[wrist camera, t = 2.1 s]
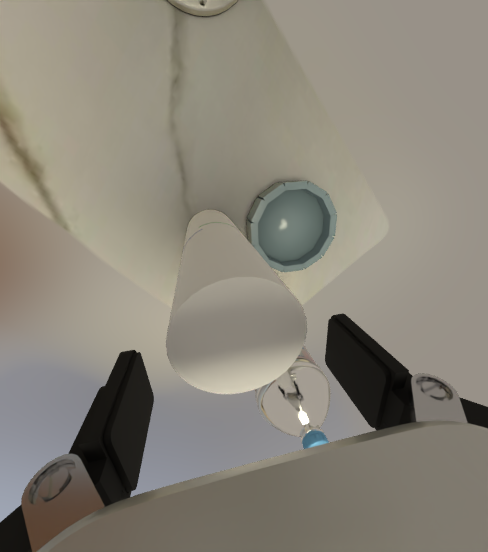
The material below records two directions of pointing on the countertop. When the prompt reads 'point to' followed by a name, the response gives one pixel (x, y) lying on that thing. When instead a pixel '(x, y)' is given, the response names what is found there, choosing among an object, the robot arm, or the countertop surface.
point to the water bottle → (297, 401)
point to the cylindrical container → (230, 312)
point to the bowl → (292, 225)
